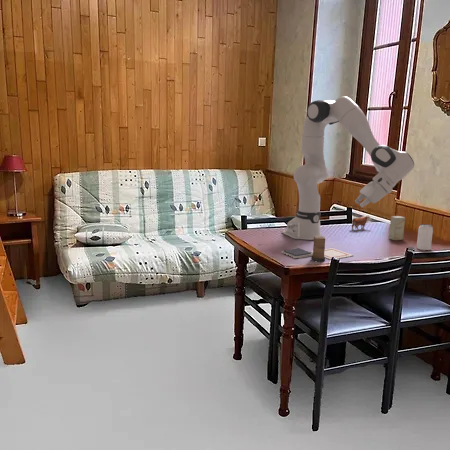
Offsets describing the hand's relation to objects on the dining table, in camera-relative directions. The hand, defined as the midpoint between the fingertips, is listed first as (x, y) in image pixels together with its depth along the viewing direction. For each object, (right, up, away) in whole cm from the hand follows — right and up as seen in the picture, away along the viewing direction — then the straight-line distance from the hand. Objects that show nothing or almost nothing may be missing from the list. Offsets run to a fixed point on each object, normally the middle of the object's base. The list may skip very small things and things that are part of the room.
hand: (358, 204), depth 210 cm
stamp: (-18, -25, +1) cm, 30 cm away
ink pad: (-26, -23, +9) cm, 36 cm away
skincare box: (+32, -17, +42) cm, 55 cm away
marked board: (-9, -23, +10) cm, 27 cm away
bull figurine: (+19, -12, +63) cm, 67 cm away
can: (+39, -21, +23) cm, 50 cm away
